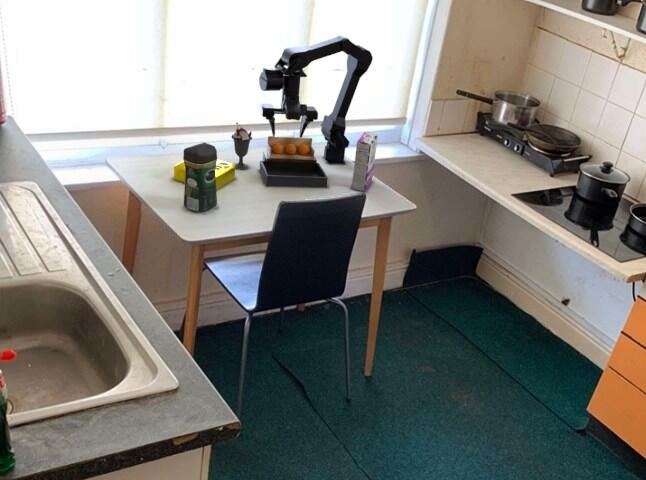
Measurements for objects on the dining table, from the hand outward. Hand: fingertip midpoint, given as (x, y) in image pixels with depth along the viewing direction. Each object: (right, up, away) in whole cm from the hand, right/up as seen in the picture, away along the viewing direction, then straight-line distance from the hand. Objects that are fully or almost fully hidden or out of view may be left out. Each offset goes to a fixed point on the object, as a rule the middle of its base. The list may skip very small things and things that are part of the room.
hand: (287, 137), depth 259 cm
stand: (0, -11, +1) cm, 12 cm away
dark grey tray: (+2, -16, -5) cm, 16 cm away
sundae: (-15, -11, -3) cm, 19 cm away
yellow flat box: (-24, -18, -15) cm, 34 cm away
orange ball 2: (+2, -5, -4) cm, 7 cm away
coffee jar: (-22, -32, -33) cm, 51 cm away
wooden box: (+1, -7, -3) cm, 8 cm away
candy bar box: (+25, -16, 0) cm, 30 cm away
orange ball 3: (+6, -5, -3) cm, 8 cm away
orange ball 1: (-2, -6, -6) cm, 8 cm away
